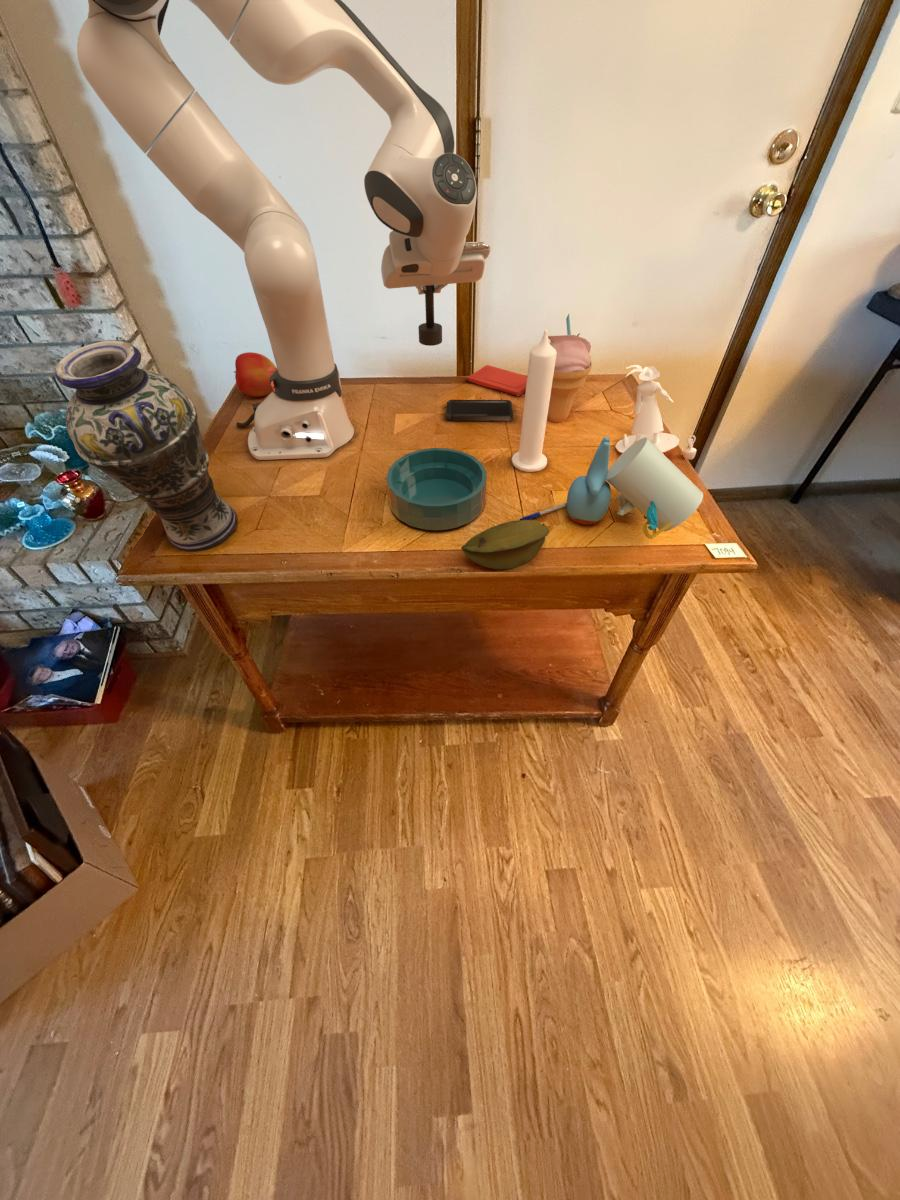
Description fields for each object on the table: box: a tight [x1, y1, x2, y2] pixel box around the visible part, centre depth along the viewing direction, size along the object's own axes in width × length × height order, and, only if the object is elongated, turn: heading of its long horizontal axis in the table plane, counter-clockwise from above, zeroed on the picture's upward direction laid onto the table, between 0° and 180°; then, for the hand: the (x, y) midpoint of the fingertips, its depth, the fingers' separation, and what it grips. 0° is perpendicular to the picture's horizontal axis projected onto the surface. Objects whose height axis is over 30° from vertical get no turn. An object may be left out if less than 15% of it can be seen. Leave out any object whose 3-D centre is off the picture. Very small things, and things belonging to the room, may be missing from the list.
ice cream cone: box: [547, 313, 593, 423], centre depth 104 cm, size 11×11×20 cm
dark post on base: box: [418, 285, 443, 347], centre depth 104 cm, size 5×5×18 cm
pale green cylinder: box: [606, 438, 704, 540], centre depth 83 cm, size 20×12×13 cm
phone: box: [445, 399, 514, 422], centre depth 113 cm, size 8×1×15 cm
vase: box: [54, 340, 238, 552], centre depth 74 cm, size 17×17×30 cm
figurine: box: [614, 364, 698, 461], centre depth 96 cm, size 16×12×20 cm
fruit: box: [460, 519, 551, 570], centre depth 79 cm, size 11×12×7 cm
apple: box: [233, 351, 277, 398], centre depth 117 cm, size 10×10×10 cm
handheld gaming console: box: [467, 364, 527, 397], centre depth 123 cm, size 9×1×15 cm
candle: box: [511, 329, 557, 473], centre depth 91 cm, size 7×7×25 cm
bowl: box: [385, 447, 488, 531], centre depth 89 cm, size 18×18×6 cm
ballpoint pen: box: [519, 502, 567, 520], centre depth 88 cm, size 10×1×1 cm, turn 116°
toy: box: [566, 436, 612, 525], centre depth 83 cm, size 10×7×15 cm
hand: (428, 290), depth 104 cm, fingers closed on dark post on base
